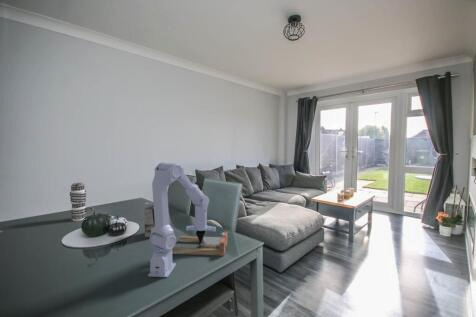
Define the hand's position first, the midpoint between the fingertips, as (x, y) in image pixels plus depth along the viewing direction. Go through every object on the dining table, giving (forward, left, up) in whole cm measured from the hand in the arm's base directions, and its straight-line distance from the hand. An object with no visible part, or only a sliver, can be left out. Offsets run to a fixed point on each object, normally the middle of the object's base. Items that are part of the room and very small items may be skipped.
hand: (201, 244), depth 109 cm
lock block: (0, -6, -2) cm, 6 cm away
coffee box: (+14, +31, -2) cm, 34 cm away
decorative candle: (+35, +95, -2) cm, 101 cm away
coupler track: (0, +1, -1) cm, 2 cm away
